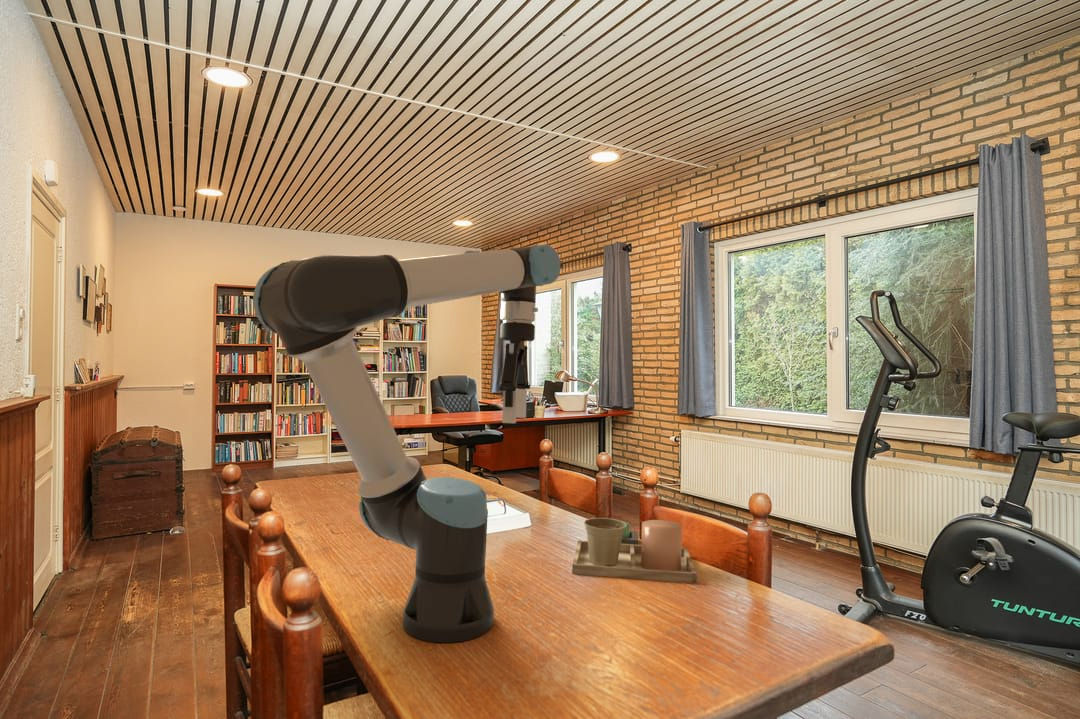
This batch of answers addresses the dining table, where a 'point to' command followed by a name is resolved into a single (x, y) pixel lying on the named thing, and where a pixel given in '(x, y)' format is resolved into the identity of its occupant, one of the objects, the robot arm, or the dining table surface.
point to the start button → (626, 531)
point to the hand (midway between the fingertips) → (514, 420)
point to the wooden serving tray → (632, 565)
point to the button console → (631, 538)
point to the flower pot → (604, 540)
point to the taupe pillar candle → (661, 545)
